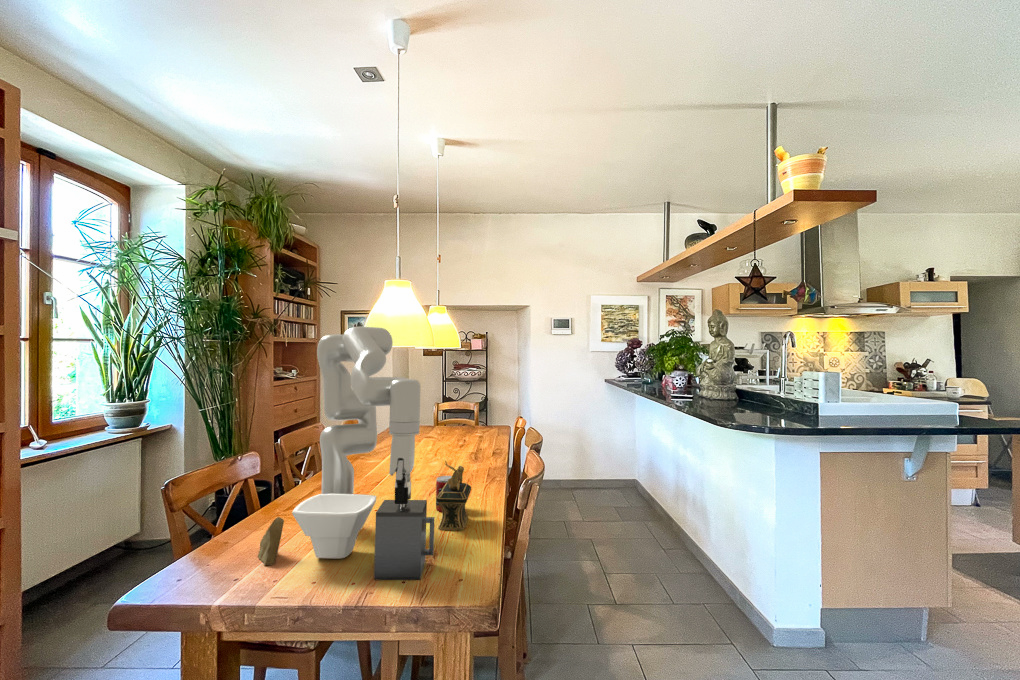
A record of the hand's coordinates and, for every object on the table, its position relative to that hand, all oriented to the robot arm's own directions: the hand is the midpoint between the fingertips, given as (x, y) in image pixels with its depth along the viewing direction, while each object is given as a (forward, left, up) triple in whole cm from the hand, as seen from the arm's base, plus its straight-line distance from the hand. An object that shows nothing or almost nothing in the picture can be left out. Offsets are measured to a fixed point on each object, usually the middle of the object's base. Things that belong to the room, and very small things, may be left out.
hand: (402, 500), depth 130 cm
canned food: (+8, +52, -18) cm, 55 cm away
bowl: (-19, +10, -18) cm, 28 cm away
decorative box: (+11, +35, -18) cm, 41 cm away
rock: (-36, +8, -18) cm, 41 cm away
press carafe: (+1, 0, -17) cm, 17 cm away
